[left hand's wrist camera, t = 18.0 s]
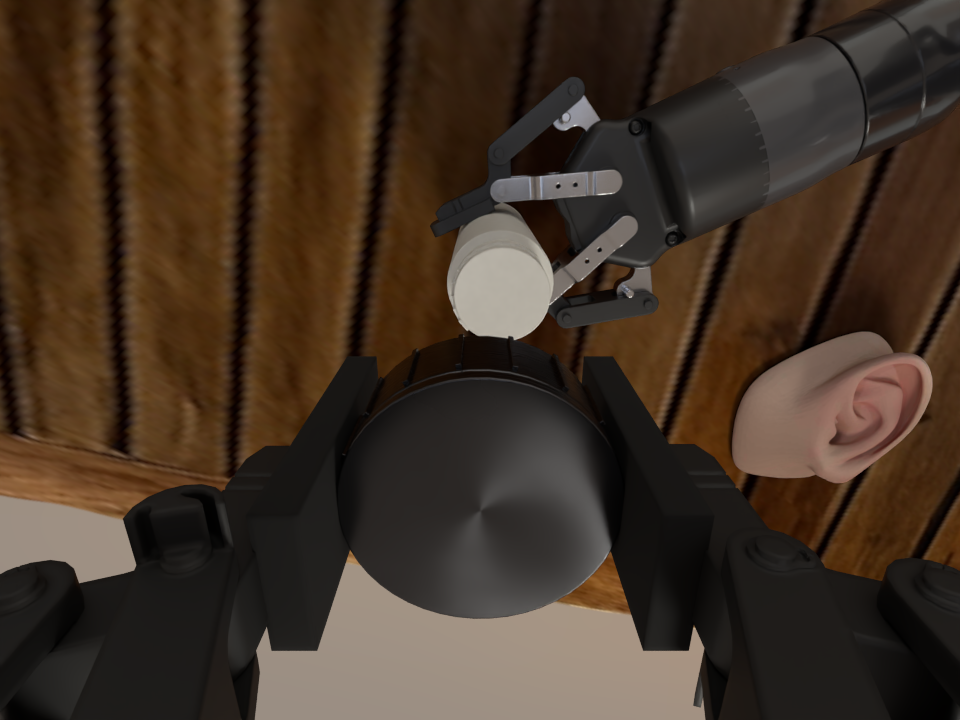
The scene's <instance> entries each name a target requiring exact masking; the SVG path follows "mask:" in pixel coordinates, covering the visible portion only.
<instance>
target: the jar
mask: <svg viewBox="0 0 960 720" xmlns="http://www.w3.org/2000/svg"><path fill="white" fill-rule="evenodd" d="M494 207H495V210H494V211H492V212H490V213H488V214H486V215H484V216H481V217H479V218H477V219H475V220H473V221H471V222H469V223H467V224H464V225H462V226H461V227H460V230H459V234H458V238H457V241H456V245H455V249H454V253H453V256H452V260H451V264H450V268H449V271H448V277H447V289H448V295H449V299H450V301H451V304H452V306H453V310H454V312H455V314H456V316H457V318H458V320H459V322H460V323H461V325H462V326H463V327H464V328H465V329H466V330H467V331H468V330H470V331H472V332H473V333H474V334H476V335H478V336H494V337H502V338H508V336H512V337H513V338H514V340H516V339H519V338H521V337H523V336H525V335H527V334H529V333H530V332H532V331H533V330H534V329H535V328H536V327H537V326H538V325H539V324H540V323H541V321H542V320H543V318H544V317H545V315H546V313H547V310H548V308H549V304H550V299H551V297H552V292H553V285H554V280H553V271H552V267H551V264H550V262H549V260H548V258H547V256H546V254H545V253H544V251H543V249H542V248H541V246H540V245H539V243H538V241H537V240H536V238H535V237H534V235H533V233H532V232H531V230H530V229H529V227H528V225H527V224H526V222H525V221H524V219H523V218H522V216H521V215H520V213H519V212H518V211H517V210H515V209H514V208H513V207H511V206H510V205H508V204H505V203H500V204H498V205H495V206H494Z"/></svg>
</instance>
